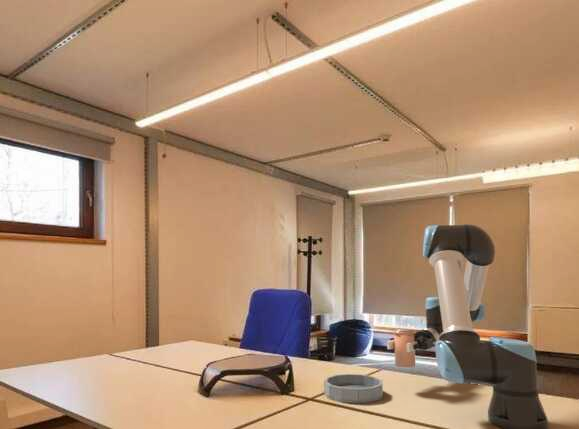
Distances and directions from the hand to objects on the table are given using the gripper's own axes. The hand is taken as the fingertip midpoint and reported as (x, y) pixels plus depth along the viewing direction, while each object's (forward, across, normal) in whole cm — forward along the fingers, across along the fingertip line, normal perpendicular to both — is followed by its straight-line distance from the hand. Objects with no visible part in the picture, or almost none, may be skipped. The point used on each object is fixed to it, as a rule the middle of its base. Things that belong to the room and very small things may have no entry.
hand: (397, 346), depth 150 cm
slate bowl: (+10, +13, -16) cm, 23 cm away
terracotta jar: (-5, 0, -7) cm, 9 cm away
